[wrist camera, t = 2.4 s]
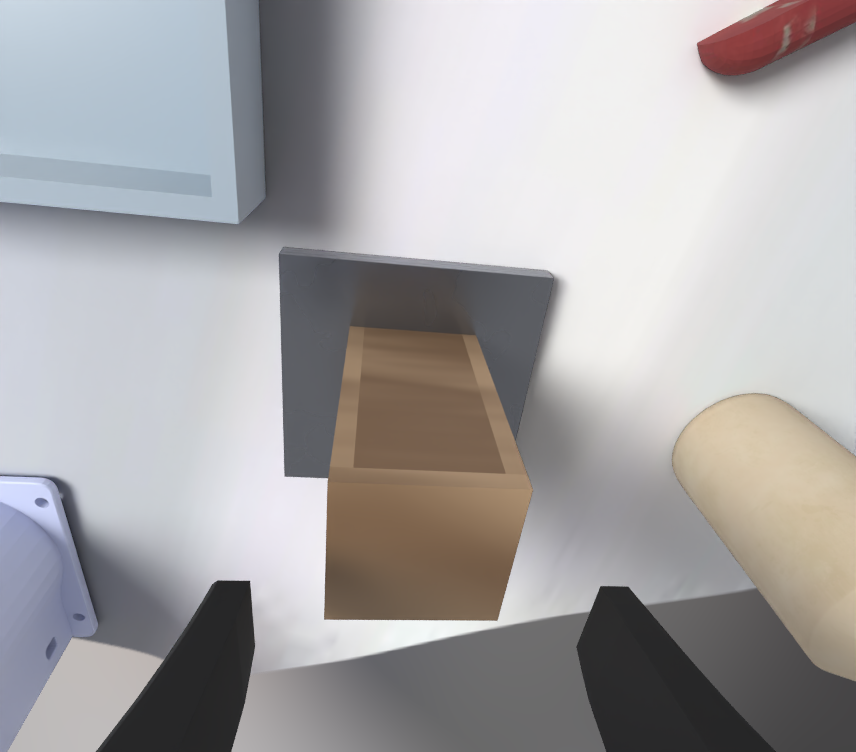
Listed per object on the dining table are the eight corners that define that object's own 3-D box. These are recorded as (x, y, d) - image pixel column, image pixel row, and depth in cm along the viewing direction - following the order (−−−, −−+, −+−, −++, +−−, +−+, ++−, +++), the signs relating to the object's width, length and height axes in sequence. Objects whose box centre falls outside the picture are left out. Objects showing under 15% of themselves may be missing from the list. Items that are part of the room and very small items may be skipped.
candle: (787, 370, 21) (1074, 572, 12) (803, 463, 24) (1049, 685, 15) (655, 426, 22) (835, 652, 13) (685, 510, 24) (852, 745, 16)
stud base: (501, 472, 22) (518, 529, 20) (287, 463, 21) (272, 522, 18) (547, 270, 18) (578, 305, 15) (283, 247, 17) (262, 279, 14)
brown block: (458, 437, 20) (497, 620, 13) (345, 431, 20) (323, 619, 13) (476, 335, 18) (532, 489, 11) (349, 326, 18) (327, 482, 11)
